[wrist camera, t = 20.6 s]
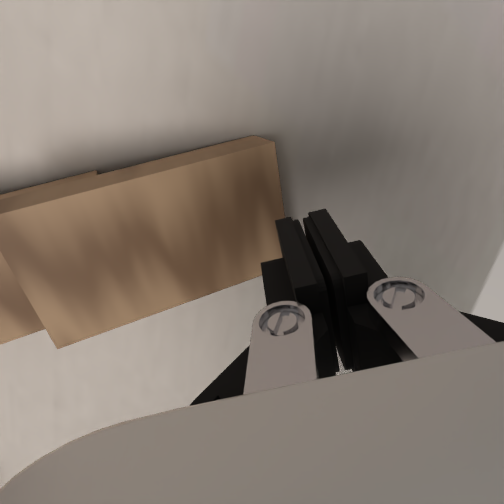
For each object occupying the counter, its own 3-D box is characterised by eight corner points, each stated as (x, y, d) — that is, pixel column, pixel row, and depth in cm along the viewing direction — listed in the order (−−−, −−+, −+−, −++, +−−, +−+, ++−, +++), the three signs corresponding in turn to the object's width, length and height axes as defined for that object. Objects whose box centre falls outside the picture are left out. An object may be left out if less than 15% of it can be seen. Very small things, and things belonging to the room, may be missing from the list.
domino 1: (291, 264, 17) (57, 349, 15) (271, 246, 20) (62, 317, 17) (274, 142, 15) (-19, 218, 12) (253, 135, 17) (-2, 199, 14)
